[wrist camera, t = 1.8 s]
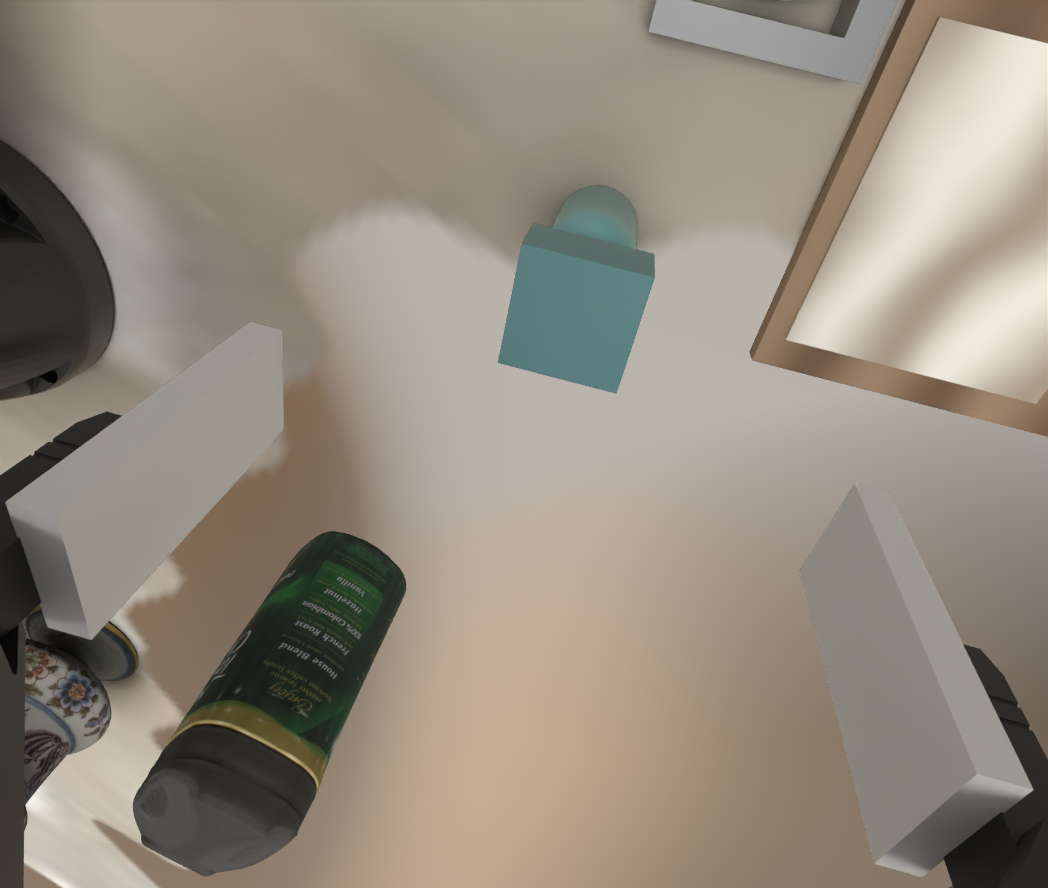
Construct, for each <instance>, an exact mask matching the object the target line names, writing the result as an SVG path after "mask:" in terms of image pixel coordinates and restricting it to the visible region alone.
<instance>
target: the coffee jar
mask: <svg viewBox="0 0 1048 888" xmlns="http://www.w3.org/2000/svg"><path fill="white" fill-rule="evenodd" d="M405 591H406V581H405V578H404V575H403V573H402V571H401V570H400V568H399V567H398V566H397V565H396V564H395V563H394V562H393V561H392V560H391V559H390V558H389V557H388V556H387V555H386V554H385V553H383V552H382V551H381V550H380V549H378V548H377V547H375V546H374V545H372V544H370V543H368V542H367V541H365V540H363V539H360V538H357V537H355V536H352V535H349V534H346V533H340V532H334V531H333V532H326V533H323V534H321V535H319V536H317V537H315V538H314V539H313V540H311V541H310V542H309V543H308V544H307V545H305V546H304V547H303V548H302V549H301V550H300V551H299V552H298V553H297V555H296V556H295V557H294V558H293V559H292V561H291V562H290V563H289V565H288V566H287V568H286V569H285V571H284V572H283V574H282V575H281V576H280V578H279V579H278V581H277V582H276V584H275V585H274V587H273V588H272V590H271V591H270V593H269V594H268V596H267V597H266V599H265V600H264V602H263V603H262V605H261V606H260V608H259V609H258V610H257V612H256V613H255V615H254V616H253V618H252V619H251V620H250V622H249V623H248V625H247V626H246V628H245V629H244V630H243V632H242V633H241V635H240V636H239V638H238V639H237V640H236V642H235V643H234V645H233V646H232V648H231V649H230V650H229V652H228V653H227V655H226V656H225V658H224V659H223V661H222V662H221V664H220V665H219V667H218V668H217V669H216V671H215V672H214V674H213V676H212V677H211V678H210V680H209V681H208V683H207V684H206V686H205V687H204V689H203V691H202V692H201V694H200V695H199V697H198V698H197V700H196V701H195V703H194V704H193V706H192V708H191V709H190V710H189V712H188V713H187V715H186V716H185V718H184V719H183V721H182V722H181V724H180V725H179V727H178V729H177V730H176V732H175V733H174V735H173V736H172V738H171V739H170V741H169V742H168V744H167V745H166V746H165V748H164V750H163V752H162V753H161V755H160V757H159V758H158V760H157V762H156V763H155V765H154V766H153V767H152V768H151V770H150V772H149V774H148V776H147V778H146V780H145V781H144V782H143V784H142V786H141V787H140V788H139V790H138V792H137V793H136V796H135V798H134V801H133V812H134V817H135V821H136V823H137V826H138V828H139V831H140V833H141V841H142V844H143V845H144V846H146V847H148V848H149V849H151V850H153V851H155V852H157V853H159V854H161V855H163V856H165V857H167V858H168V859H170V860H172V861H174V862H176V863H178V864H180V865H182V866H184V867H186V868H188V869H190V870H192V871H194V872H196V873H198V874H200V875H203V876H206V877H207V876H210V875H212V874H214V873H217V872H224V871H232V870H237V869H242V868H245V867H248V866H251V865H254V864H256V863H258V862H260V861H262V860H264V859H266V858H268V857H269V856H271V855H273V854H274V853H276V852H277V851H279V850H280V849H282V848H283V847H284V846H285V845H287V844H288V843H289V842H290V841H291V840H292V839H293V838H294V837H295V836H297V832H298V830H299V828H300V826H301V824H302V822H303V820H304V818H305V816H306V813H307V812H308V810H309V808H310V806H311V804H312V802H313V800H314V798H315V795H316V793H317V791H318V788H319V786H320V783H321V781H322V778H323V775H324V772H325V770H326V767H327V764H328V761H329V759H330V757H331V754H332V752H333V749H334V747H335V744H336V742H337V740H338V738H339V735H340V733H341V731H342V728H343V726H344V724H345V722H346V719H347V717H348V715H349V713H350V711H351V708H352V706H353V704H354V702H355V700H356V698H357V696H358V693H359V691H360V689H361V687H362V685H363V682H364V680H365V678H366V676H367V673H368V672H369V669H370V667H371V665H372V663H373V661H374V658H375V656H376V654H377V652H378V650H379V648H380V646H381V644H382V642H383V640H384V637H385V635H386V633H387V631H388V629H389V627H390V625H391V623H392V621H393V618H394V617H395V614H396V612H397V610H398V608H399V606H400V604H401V601H402V599H403V597H404V594H405Z"/></svg>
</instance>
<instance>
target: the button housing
mask: <svg viewBox="0 0 1048 888" xmlns="http://www.w3.org/2000/svg"><path fill="white" fill-rule="evenodd" d="M897 1H898V0H843V2H842V5H841V7H840V10H839V12H838V15H837V17H836V20H835V22H834V25H833V27H832V30H831V32H830V35H828V34H824V33H820V32H816V31H812V30H808V29H804V28H800V27H796V26H792V25H788V24H784V23H780V22H776V21H771V20H767V19H763V18H759V17H755V16H751V15H747V14H743V13H739V12H735V11H731V10H727V9H723V8H719V7H715V6H710V5H706V4H702V3H698V2H694V1H691V0H656V4H655V7H654V11H653V15H652V19H651V23H650V26H649V30H648V32H652V33H656V34H660V35H664V36H668V37H672V38H676V39H680V40H684V41H688V42H692V43H696V44H700V45H704V46H708V47H712V48H716V49H720V50H724V51H728V52H732V53H736V54H741V55H745V56H749V57H753V58H757V59H761V60H765V61H769V62H773V63H777V64H781V65H785V66H789V67H793V68H797V69H801V70H805V71H809V72H813V73H817V74H821V75H825V76H829V77H834V78H838V79H842V80H846V81H850V82H854V83H858V84H861V83H862V81H863V79H864V76H865V74H866V72H867V69H868V67H869V65H870V63H871V60H872V58H873V56H874V54H875V51H876V49H877V47H878V45H879V42H880V40H881V38H882V35H883V33H884V31H885V29H886V26H887V24H888V22H889V20H890V17H891V15H892V13H893V10H894V8H895V6H896V4H897Z"/></svg>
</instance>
